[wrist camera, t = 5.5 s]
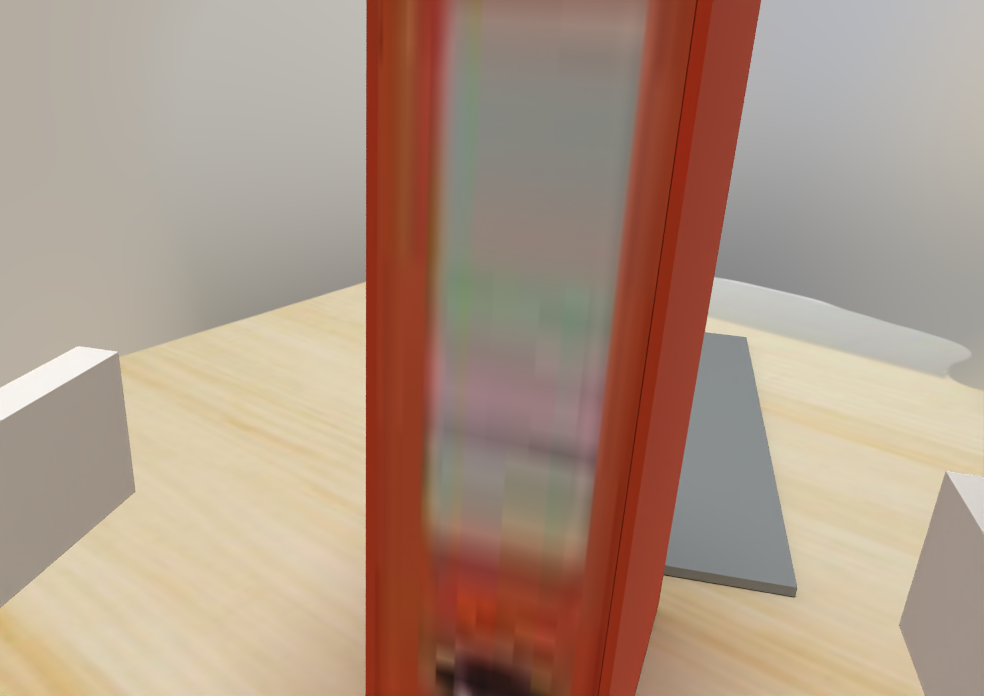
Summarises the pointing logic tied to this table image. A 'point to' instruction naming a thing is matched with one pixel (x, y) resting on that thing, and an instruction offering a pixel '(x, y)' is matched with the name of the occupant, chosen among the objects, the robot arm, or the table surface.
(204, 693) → the table surface
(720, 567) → the mat
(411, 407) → the file binder
